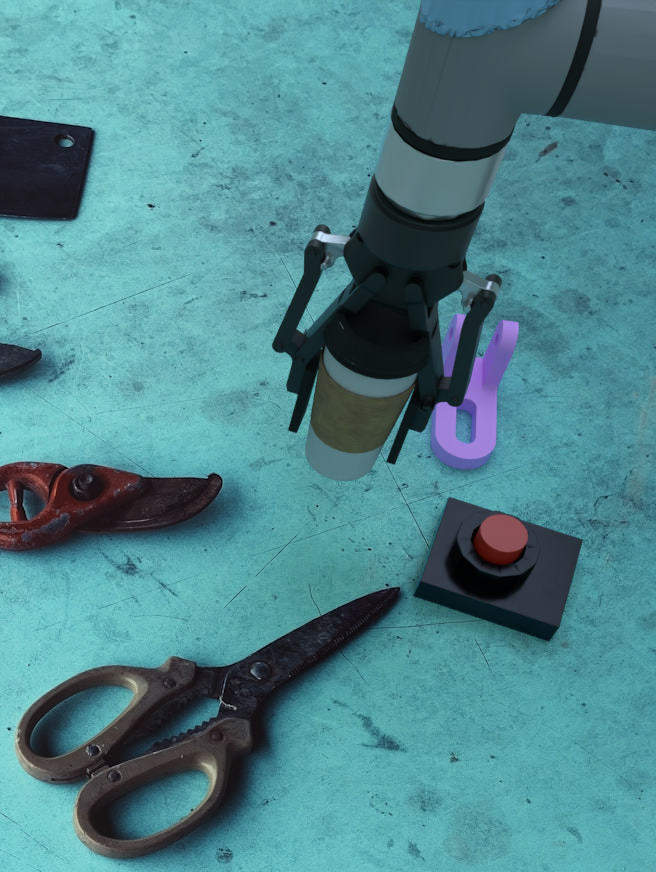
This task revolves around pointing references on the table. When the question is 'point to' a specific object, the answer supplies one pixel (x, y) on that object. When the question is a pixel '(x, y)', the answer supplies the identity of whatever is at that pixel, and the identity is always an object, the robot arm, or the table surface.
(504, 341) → the bracket
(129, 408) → the table surface
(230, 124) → the table surface
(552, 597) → the switch box
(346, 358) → the coffee cup
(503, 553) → the button
